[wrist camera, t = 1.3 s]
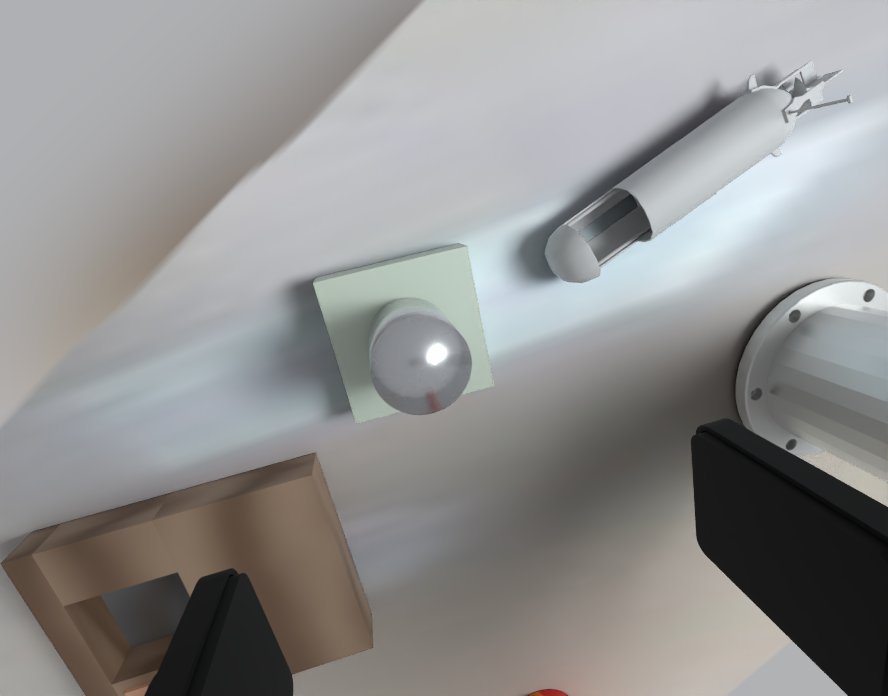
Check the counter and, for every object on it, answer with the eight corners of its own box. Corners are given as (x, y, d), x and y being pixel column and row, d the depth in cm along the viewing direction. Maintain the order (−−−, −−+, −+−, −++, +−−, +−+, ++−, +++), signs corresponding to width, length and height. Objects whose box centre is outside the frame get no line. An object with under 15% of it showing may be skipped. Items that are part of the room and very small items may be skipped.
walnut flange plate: (315, 452, 28) (311, 477, 25) (371, 615, 32) (373, 650, 29) (32, 531, 26) (-3, 566, 23) (130, 693, 30) (109, 737, 27)
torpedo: (560, 299, 28) (619, 324, 22) (521, 233, 26) (572, 240, 20) (805, 121, 28) (934, 95, 22) (779, 44, 26) (911, -8, 20)
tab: (458, 243, 26) (466, 245, 24) (485, 374, 28) (494, 386, 26) (316, 277, 25) (312, 283, 23) (356, 409, 27) (356, 424, 25)
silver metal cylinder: (440, 288, 24) (461, 306, 19) (457, 365, 26) (480, 399, 21) (358, 308, 24) (358, 332, 19) (379, 385, 25) (385, 426, 20)
